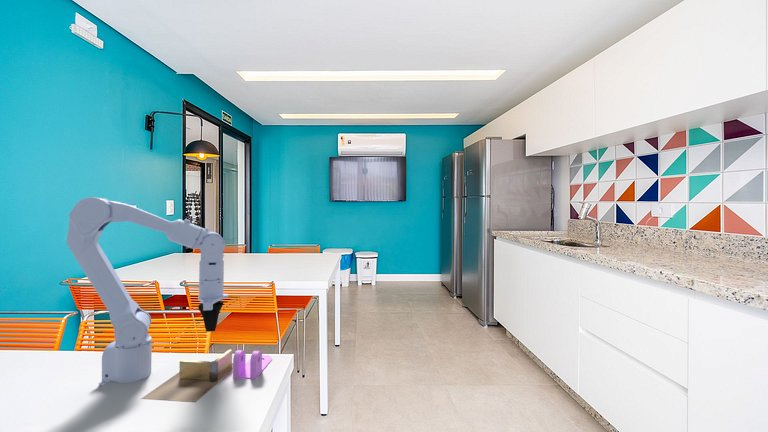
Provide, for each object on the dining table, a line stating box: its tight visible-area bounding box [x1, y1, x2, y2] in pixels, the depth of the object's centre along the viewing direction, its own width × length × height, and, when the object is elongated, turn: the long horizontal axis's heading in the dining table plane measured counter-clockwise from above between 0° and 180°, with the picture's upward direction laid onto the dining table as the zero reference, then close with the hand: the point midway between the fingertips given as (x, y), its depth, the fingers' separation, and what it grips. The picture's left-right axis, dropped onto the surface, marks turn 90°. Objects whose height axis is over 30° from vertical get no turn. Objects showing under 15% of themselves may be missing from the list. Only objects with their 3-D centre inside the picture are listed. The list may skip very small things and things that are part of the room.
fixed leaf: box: [209, 349, 233, 382], centre depth 88 cm, size 2×9×4 cm, turn 175°
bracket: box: [232, 349, 273, 380], centre depth 93 cm, size 13×6×7 cm, turn 177°
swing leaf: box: [178, 359, 211, 380], centre depth 85 cm, size 1×7×4 cm, turn 86°
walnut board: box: [141, 362, 233, 403], centre depth 85 cm, size 12×19×1 cm, turn 175°
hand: (210, 330), depth 94 cm, fingers closed
